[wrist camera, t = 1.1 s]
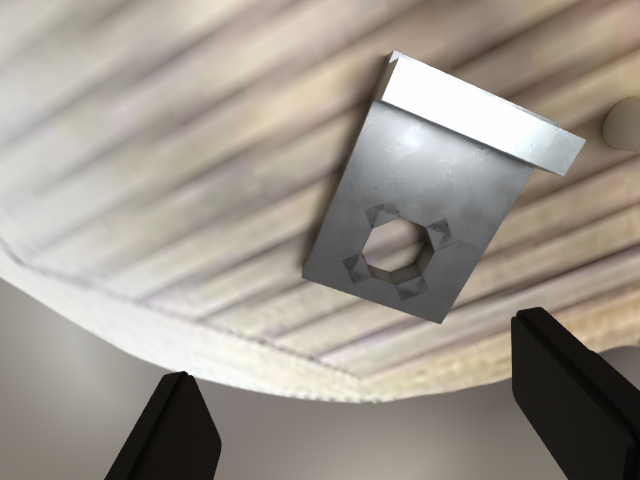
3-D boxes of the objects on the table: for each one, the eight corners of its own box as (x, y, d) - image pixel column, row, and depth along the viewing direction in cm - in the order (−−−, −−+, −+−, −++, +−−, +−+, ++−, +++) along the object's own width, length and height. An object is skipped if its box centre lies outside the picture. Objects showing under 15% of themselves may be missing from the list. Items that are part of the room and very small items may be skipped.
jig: (387, 55, 31) (405, 42, 25) (539, 122, 33) (594, 127, 27) (302, 265, 38) (299, 297, 32) (432, 309, 41) (454, 348, 34)
